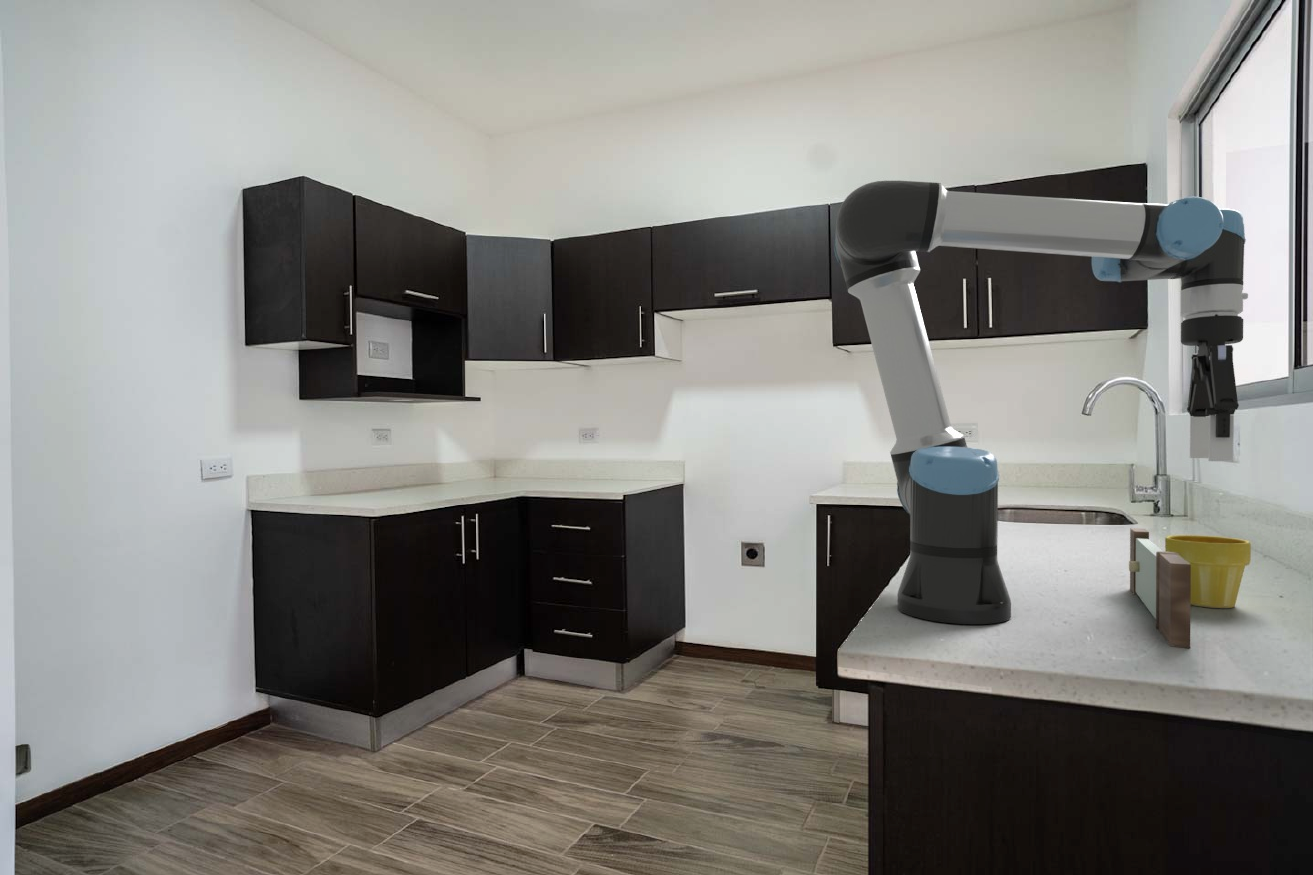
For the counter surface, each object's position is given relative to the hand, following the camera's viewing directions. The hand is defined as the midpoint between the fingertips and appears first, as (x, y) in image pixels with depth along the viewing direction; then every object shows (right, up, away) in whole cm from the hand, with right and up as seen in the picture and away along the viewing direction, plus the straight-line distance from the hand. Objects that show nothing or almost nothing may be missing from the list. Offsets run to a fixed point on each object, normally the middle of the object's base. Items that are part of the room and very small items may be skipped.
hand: (1210, 459), depth 113 cm
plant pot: (0, -22, +1) cm, 22 cm away
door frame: (-12, -22, -6) cm, 25 cm away
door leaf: (-11, -21, -3) cm, 24 cm away
